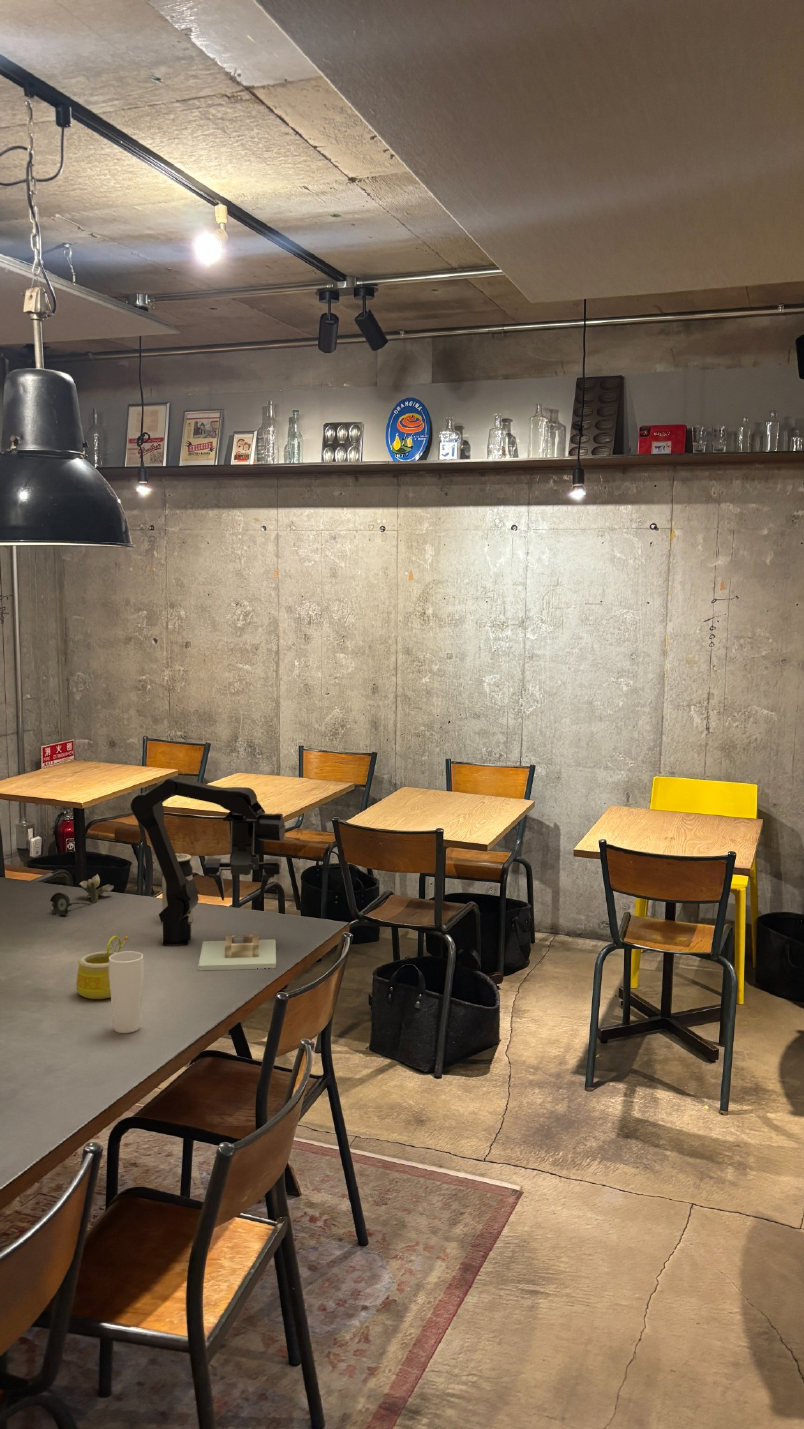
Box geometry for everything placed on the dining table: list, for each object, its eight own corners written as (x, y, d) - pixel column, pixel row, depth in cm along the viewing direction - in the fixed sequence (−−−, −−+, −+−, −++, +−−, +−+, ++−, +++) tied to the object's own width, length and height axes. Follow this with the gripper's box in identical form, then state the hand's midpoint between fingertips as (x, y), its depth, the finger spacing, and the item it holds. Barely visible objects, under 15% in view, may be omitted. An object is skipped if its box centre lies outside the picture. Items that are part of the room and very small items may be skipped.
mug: (84, 1006, 219) (83, 951, 217) (71, 989, 228) (70, 937, 227) (143, 995, 225) (142, 941, 224) (128, 979, 235) (127, 928, 233)
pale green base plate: (198, 970, 241) (198, 949, 240) (203, 946, 259) (203, 926, 258) (276, 968, 243) (276, 947, 243) (275, 944, 261) (275, 924, 261)
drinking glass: (139, 1036, 203) (138, 962, 202) (105, 1035, 204) (103, 961, 202) (148, 1022, 210) (147, 951, 209) (115, 1022, 210) (114, 950, 209)
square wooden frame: (225, 957, 246) (224, 945, 246) (226, 947, 254) (226, 935, 254) (258, 956, 248) (258, 944, 247) (258, 946, 255) (258, 934, 255)
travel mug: (197, 919, 281) (197, 854, 280) (185, 927, 274) (184, 861, 272) (170, 916, 283) (170, 852, 281) (157, 925, 275) (156, 859, 274)
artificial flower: (43, 919, 284) (38, 883, 285) (99, 908, 304) (94, 875, 306) (68, 915, 280) (63, 878, 282) (122, 904, 301) (117, 870, 302)
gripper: (201, 846, 248) (201, 909, 249) (279, 846, 249) (278, 909, 251) (205, 836, 259) (205, 896, 260) (280, 836, 261) (279, 896, 262)
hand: (241, 900), depth 258 cm, fingers open, 9 cm apart
